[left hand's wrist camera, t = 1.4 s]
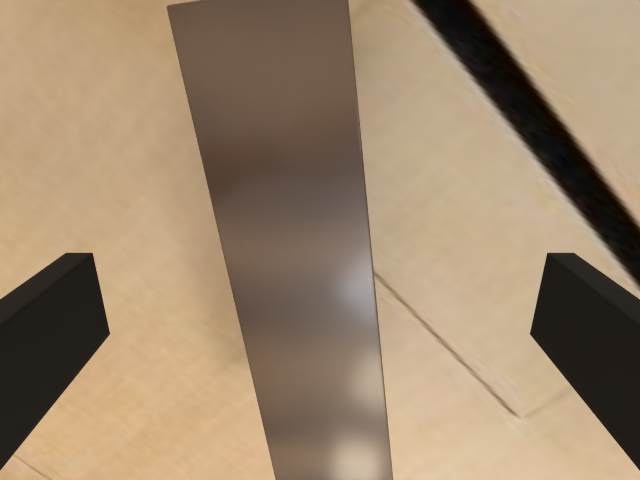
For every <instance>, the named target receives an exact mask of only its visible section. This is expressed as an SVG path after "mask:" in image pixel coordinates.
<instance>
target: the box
mask: <svg viewBox="0 0 640 480" xmlns="http://www.w3.org/2000/svg"><path fill="white" fill-rule="evenodd" d="M167 11H168V15H169V20H170V24H171V28H172V33H173V37H174V41H175V46H176V50H177V54H178V59H179V63H180V67H181V72H182V76H183V80H184V85H185V89H186V93H187V98H188V102H189V106H190V111H191V115H192V119H193V124H194V128H195V132H196V137H197V141H198V145H199V150H200V154H201V158H202V163H203V167H204V171H205V176H206V180H207V184H208V189H209V193H210V197H211V202H212V206H213V210H214V214H215V219H216V223H217V227H218V232H219V236H220V240H221V245H222V249H223V253H224V258H225V262H226V266H227V271H228V275H229V279H230V284H231V288H232V292H233V297H234V301H235V305H236V310H237V314H238V318H239V323H240V327H241V331H242V336H243V340H244V344H245V349H246V353H247V357H248V362H249V366H250V370H251V375H252V379H253V383H254V388H255V392H256V396H257V401H258V405H259V409H260V414H261V418H262V422H263V427H264V431H265V435H266V440H267V444H268V448H269V453H270V457H271V461H272V465H273V470H274V474H275V478H276V480H393V473H392V462H391V452H390V441H389V430H388V420H387V409H386V398H385V388H384V377H383V366H382V356H381V345H380V335H379V324H378V313H377V303H376V292H375V281H374V271H373V260H372V249H371V239H370V228H369V217H368V207H367V196H366V185H365V175H364V164H363V154H362V143H361V132H360V122H359V111H358V100H357V90H356V79H355V68H354V58H353V47H352V36H351V26H350V15H349V4H348V0H199V1H193V2H186V3H180V4H173V5H168V6H167Z"/></svg>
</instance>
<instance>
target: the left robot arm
mask: <svg viewBox="0 0 640 480" xmlns="http://www.w3.org/2000/svg"><path fill="white" fill-rule="evenodd" d="M109 335H110V332H109V327H108V323H107V318H106V313H105V309H104V304H103V299H102V295H101V290H100V285H99V281H98V276H97V271H96V267H95V262H94V257H93V253H65V254H64V255H62V256H61V257H60V258H58V259H57V260H55V261H54V262H53V263H51V264H50V265H48V266H47V267H45V268H44V269H43V270H41V271H40V272H38V273H37V274H36V275H34V276H33V277H31V278H30V279H29V280H27V281H26V282H24V283H23V284H21V285H20V286H19V287H17V288H16V289H14V290H13V291H12V292H10V293H9V294H7V295H6V296H5V297H3V298H2V299H0V470H1V469H2V468H3V466H4V465H5V464H6V463H7V461H8V460H9V459H10V458H11V456H12V455H13V454H14V453H15V451H16V450H17V449H18V448H19V446H20V445H21V444H22V443H23V441H24V440H25V439H26V438H27V437H28V435H29V434H30V433H31V432H32V430H33V429H34V428H35V427H36V425H37V424H38V423H39V422H40V420H41V419H42V418H43V417H44V415H45V414H46V413H47V412H48V410H49V409H50V408H51V407H52V405H53V404H54V403H55V402H56V400H57V399H58V398H59V397H60V395H61V394H62V393H63V392H64V391H65V389H66V388H67V387H68V386H69V384H70V383H71V382H72V381H73V379H74V378H75V377H76V376H77V374H78V373H79V372H80V371H81V369H82V368H83V367H84V366H85V364H86V363H87V362H88V361H89V359H90V358H91V357H92V356H93V354H94V353H95V352H96V351H97V350H98V348H99V347H100V346H101V345H102V343H103V342H104V341H105V340H106V338H107V337H108V336H109ZM530 335H531V336H532V337H533V338H534V340H535V341H536V342H537V343H538V345H539V346H540V347H541V348H542V350H543V351H544V352H545V353H546V354H547V356H548V357H549V358H550V359H551V361H552V362H553V363H554V364H555V366H556V367H557V368H558V369H559V371H560V372H561V373H562V374H563V376H564V377H565V378H566V379H567V381H568V382H569V383H570V384H571V386H572V387H573V388H574V389H575V391H576V392H577V393H578V394H579V396H580V397H581V398H582V399H583V400H584V402H585V403H586V404H587V405H588V407H589V408H590V409H591V410H592V412H593V413H594V414H595V415H596V417H597V418H598V419H599V420H600V422H601V423H602V424H603V425H604V427H605V428H606V429H607V430H608V432H609V433H610V434H611V435H612V437H613V438H614V439H615V440H616V441H617V443H618V444H619V445H620V446H621V448H622V449H623V450H624V451H625V453H626V454H627V455H628V456H629V458H630V459H631V460H632V461H633V463H634V464H635V465H636V466H637V468H638V469H639V470H640V299H638V298H637V297H635V296H634V295H633V294H631V293H630V292H628V291H627V290H626V289H624V288H623V287H621V286H620V285H619V284H617V283H616V282H614V281H613V280H611V279H610V278H609V277H607V276H606V275H604V274H603V273H602V272H600V271H599V270H597V269H596V268H595V267H593V266H592V265H590V264H589V263H587V262H586V261H585V260H583V259H582V258H580V257H579V256H578V255H576V254H575V253H547V257H546V262H545V267H544V271H543V276H542V281H541V285H540V290H539V295H538V299H537V304H536V309H535V313H534V318H533V323H532V327H531V332H530Z"/></svg>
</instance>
